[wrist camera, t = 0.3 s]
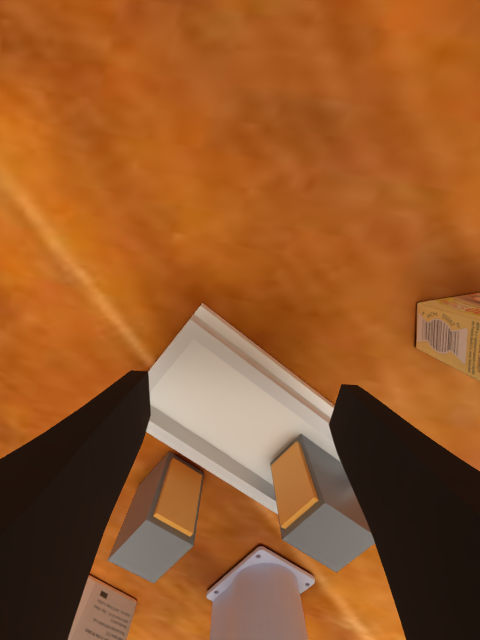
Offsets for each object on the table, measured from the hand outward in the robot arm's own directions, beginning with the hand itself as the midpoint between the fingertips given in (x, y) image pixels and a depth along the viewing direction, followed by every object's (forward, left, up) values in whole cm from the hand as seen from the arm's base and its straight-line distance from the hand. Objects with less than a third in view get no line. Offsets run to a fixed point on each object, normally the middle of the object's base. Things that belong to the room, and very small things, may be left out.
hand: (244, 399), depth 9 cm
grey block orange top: (-16, -5, -11) cm, 20 cm away
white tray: (-6, -7, -10) cm, 14 cm away
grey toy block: (-6, -13, -9) cm, 17 cm away
